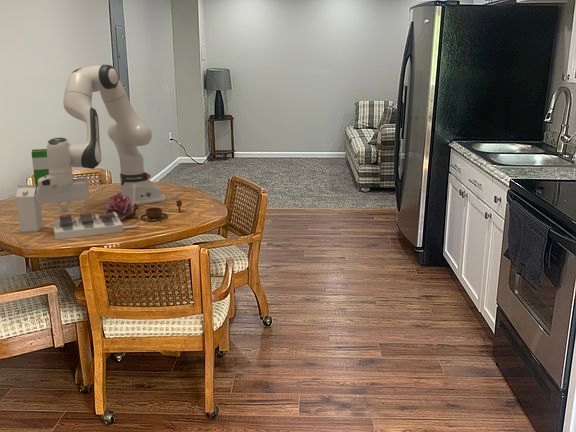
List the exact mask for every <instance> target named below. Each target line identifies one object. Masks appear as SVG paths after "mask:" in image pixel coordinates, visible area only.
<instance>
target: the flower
mask: <svg viewBox="0 0 576 432" xmlns="http://www.w3.org/2000/svg"><path fill="white" fill-rule="evenodd" d="M134 201H135V200H134V199H133V200H132V201H130V198H129V197H128V196H125V195H123V194H121V193H117V194H114V195H112V196H110V197H109V201H108V204H103V207H104V208H105V209H107V210H105V214H113V212H116V214H117V215H118V218H119V220H120V221H121V220H124V218H125V217H127V216H128V214H129V213H132V218H133V217H134V216H135V215H134V214H135V212H136V211H137V210H138V209H139V205H137V204H134Z"/></svg>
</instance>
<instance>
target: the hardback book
mask: <svg viewBox="0 0 576 432" xmlns="http://www.w3.org/2000/svg"><path fill="white" fill-rule="evenodd" d="M30 154H31V159H32V168H33V169H32V170H33V177H34V185H36V188H37V186H38V179H39V178H41V177H44V176H47V175H49V164H48V161H47V148H37V149H32V150H31V152H30ZM71 169H72V170H73V167H71Z"/></svg>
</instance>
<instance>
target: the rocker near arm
mask: <svg viewBox="0 0 576 432" xmlns="http://www.w3.org/2000/svg"><path fill="white" fill-rule="evenodd" d="M110 218H113V214H106V213H101V214H100V216H99V219H110Z"/></svg>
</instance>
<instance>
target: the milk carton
mask: <svg viewBox="0 0 576 432" xmlns="http://www.w3.org/2000/svg"><path fill="white" fill-rule="evenodd" d="M36 189H37V188H36V185H35V184H17V189H16V193H15V202H16V209H17V219H18V224H19V225H18V226H19V232H21V233H28V232H29V233H30V232H31V233H32V232H35V233H36V232H39V231H40V230H41V229H42V228H44V219H43V218H44V217H43V210H42V204H39V203H37V201H36Z"/></svg>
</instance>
